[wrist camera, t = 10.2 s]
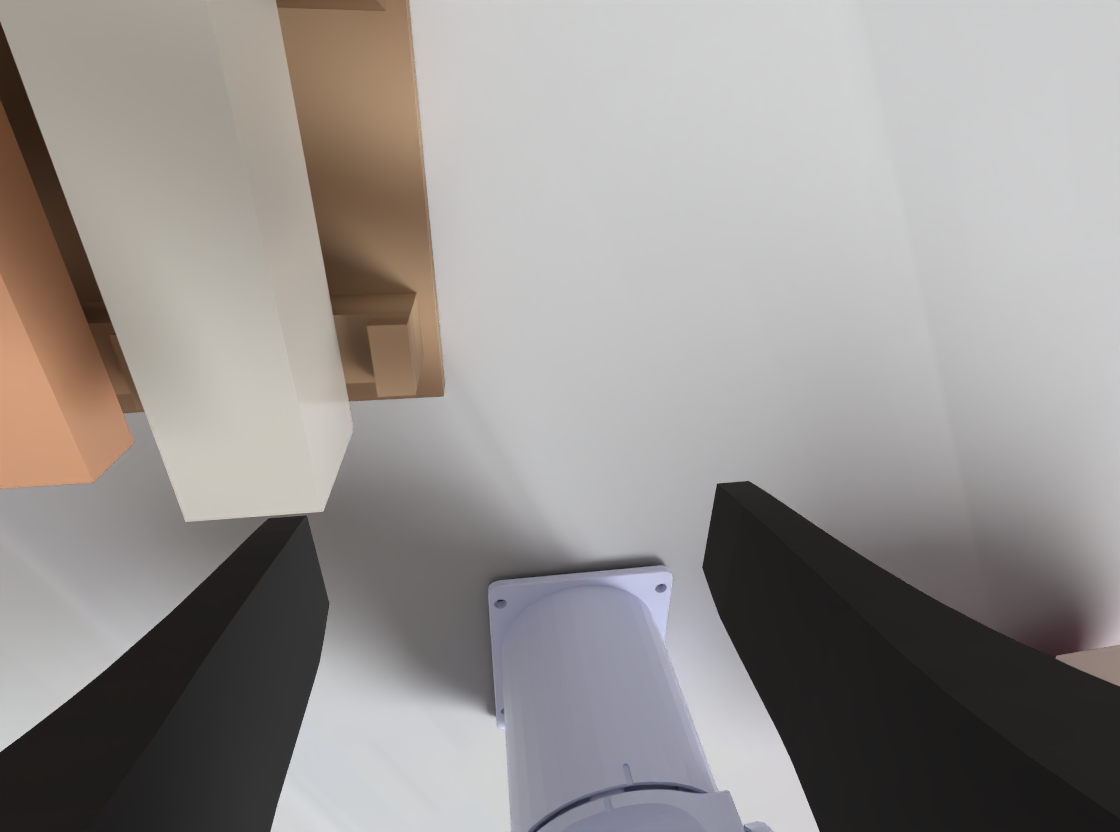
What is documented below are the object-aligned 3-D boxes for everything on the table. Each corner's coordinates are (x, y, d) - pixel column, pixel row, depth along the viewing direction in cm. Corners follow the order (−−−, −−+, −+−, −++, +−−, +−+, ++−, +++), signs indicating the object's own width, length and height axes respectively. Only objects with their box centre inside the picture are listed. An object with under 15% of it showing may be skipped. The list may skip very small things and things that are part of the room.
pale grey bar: (353, 429, 17) (323, 511, 13) (246, 435, 16) (185, 522, 13) (231, -247, 10) (108, -432, 7) (48, -262, 10) (-181, -466, 6)
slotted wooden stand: (444, 383, 20) (439, 441, 16) (-6, 406, 18) (-120, 476, 15) (393, -164, 13) (366, -264, 10) (-318, -213, 12) (-662, -357, 8)
